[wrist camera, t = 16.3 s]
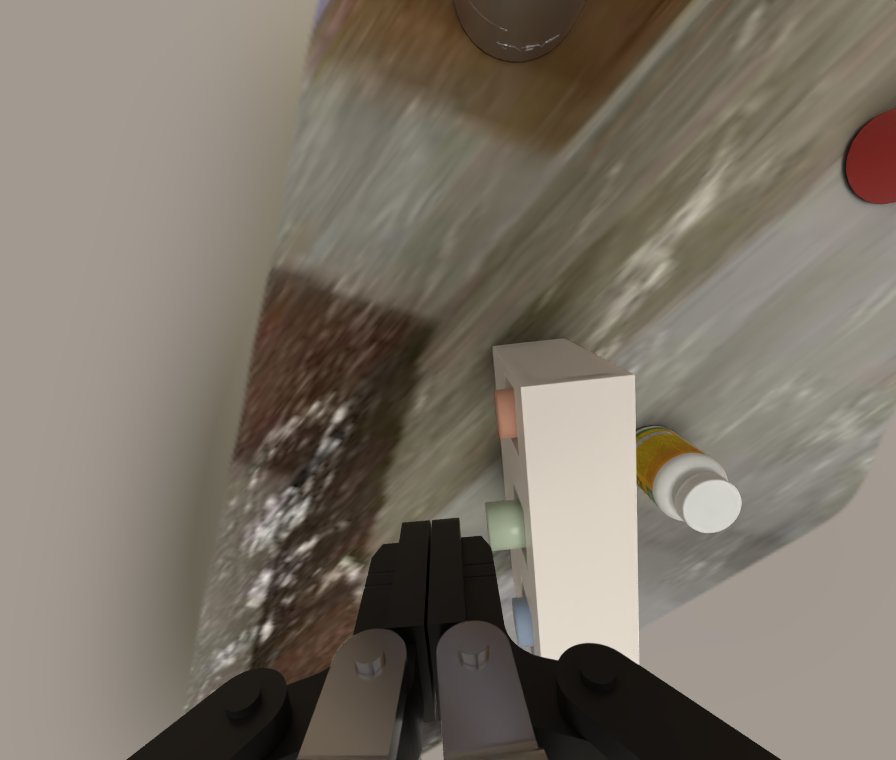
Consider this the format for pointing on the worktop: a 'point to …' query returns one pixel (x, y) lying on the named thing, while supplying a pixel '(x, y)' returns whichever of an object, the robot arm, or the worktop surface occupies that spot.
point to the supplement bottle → (684, 480)
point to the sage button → (505, 525)
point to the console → (573, 494)
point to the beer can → (874, 160)
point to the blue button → (523, 622)
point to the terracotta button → (505, 413)
